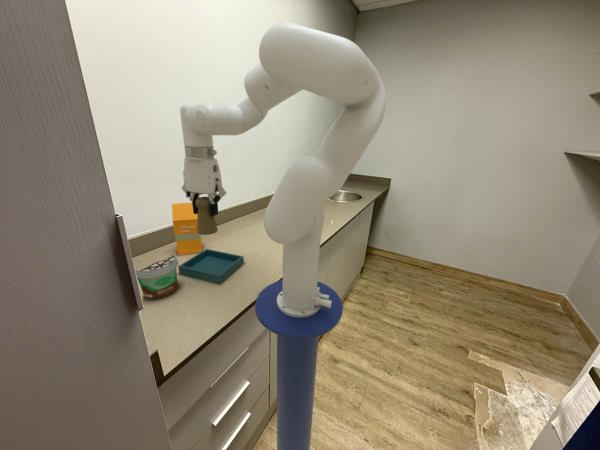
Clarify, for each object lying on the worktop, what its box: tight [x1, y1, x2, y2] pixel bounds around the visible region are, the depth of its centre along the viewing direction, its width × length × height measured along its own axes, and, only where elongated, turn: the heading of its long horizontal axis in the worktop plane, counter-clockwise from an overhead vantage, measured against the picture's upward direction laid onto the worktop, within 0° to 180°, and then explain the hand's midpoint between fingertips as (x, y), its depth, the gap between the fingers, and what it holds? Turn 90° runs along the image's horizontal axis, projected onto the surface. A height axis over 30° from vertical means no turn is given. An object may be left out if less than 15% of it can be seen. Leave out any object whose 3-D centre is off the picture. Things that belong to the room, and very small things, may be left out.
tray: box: [177, 248, 245, 285], centre depth 87 cm, size 17×15×3 cm
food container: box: [134, 253, 179, 300], centre depth 72 cm, size 12×6×10 cm, turn 151°
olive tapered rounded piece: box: [195, 196, 218, 236], centre depth 75 cm, size 6×6×11 cm
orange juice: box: [171, 202, 203, 256], centre depth 97 cm, size 8×9×20 cm
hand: (205, 213), depth 75 cm, fingers closed on olive tapered rounded piece, 5 cm apart
